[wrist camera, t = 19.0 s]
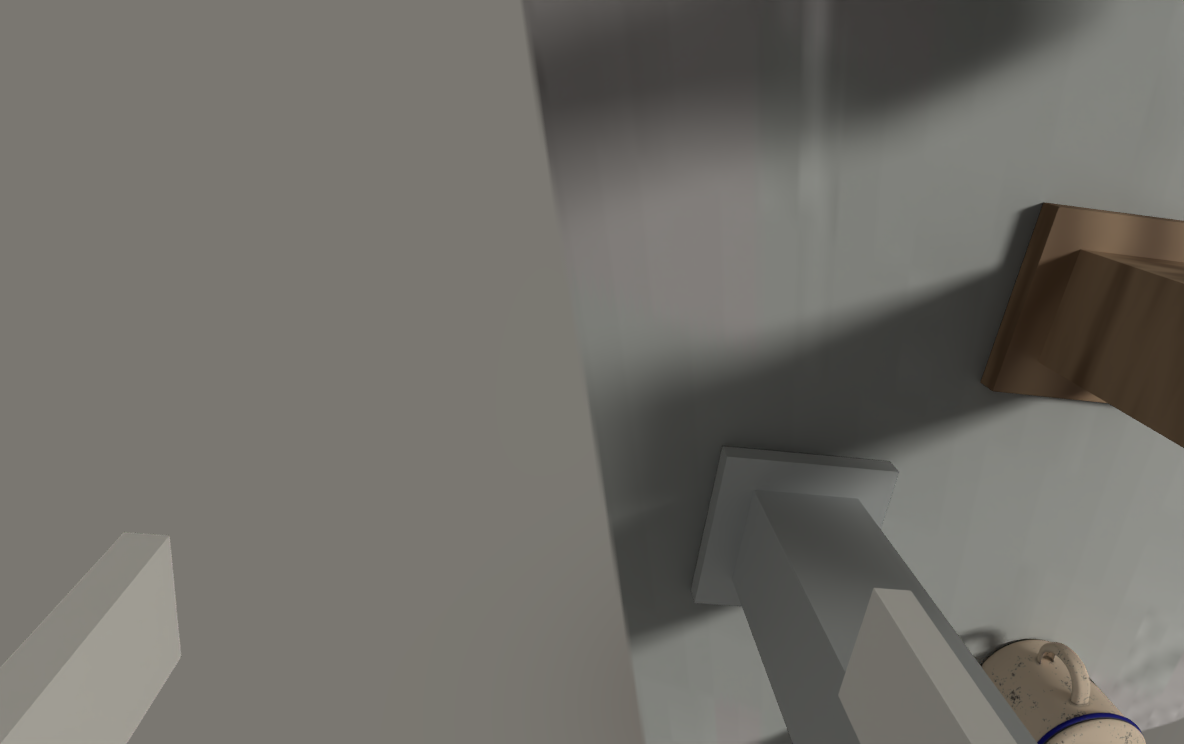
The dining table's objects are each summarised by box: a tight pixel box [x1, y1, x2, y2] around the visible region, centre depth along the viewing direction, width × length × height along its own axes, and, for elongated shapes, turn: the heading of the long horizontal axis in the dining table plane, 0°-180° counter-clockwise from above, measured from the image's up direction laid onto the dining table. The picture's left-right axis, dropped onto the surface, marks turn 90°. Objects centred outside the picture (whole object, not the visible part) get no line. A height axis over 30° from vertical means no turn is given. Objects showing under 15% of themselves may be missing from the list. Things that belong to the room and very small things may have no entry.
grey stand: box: [691, 446, 1038, 744], centre depth 44 cm, size 13×13×30 cm
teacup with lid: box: [981, 639, 1146, 744], centre depth 59 cm, size 12×9×12 cm
